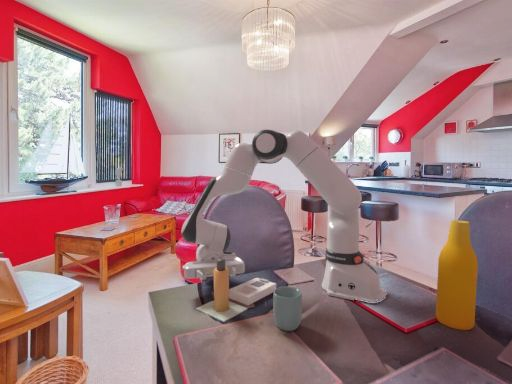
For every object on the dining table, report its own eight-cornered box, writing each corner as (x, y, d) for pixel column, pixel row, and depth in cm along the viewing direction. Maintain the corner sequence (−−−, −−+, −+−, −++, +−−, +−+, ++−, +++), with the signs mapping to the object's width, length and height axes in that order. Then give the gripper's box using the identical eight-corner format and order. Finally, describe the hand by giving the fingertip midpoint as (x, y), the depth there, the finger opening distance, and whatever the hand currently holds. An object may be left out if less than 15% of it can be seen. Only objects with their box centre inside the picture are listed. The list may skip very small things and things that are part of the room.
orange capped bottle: (232, 307, 90) (231, 259, 88) (221, 313, 86) (220, 263, 85) (221, 303, 92) (221, 256, 91) (211, 308, 89) (210, 260, 88)
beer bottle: (482, 332, 79) (488, 224, 77) (444, 329, 80) (449, 223, 78) (463, 315, 88) (469, 219, 86) (429, 313, 89) (434, 218, 87)
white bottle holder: (256, 286, 109) (256, 275, 109) (276, 293, 103) (276, 281, 103) (227, 300, 98) (227, 288, 97) (248, 308, 92) (248, 295, 92)
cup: (303, 322, 83) (304, 288, 83) (298, 337, 76) (299, 299, 75) (277, 318, 86) (277, 284, 85) (269, 332, 79) (269, 295, 78)
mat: (247, 312, 89) (247, 308, 89) (223, 325, 82) (223, 321, 82) (220, 301, 97) (220, 297, 97) (195, 312, 89) (195, 308, 89)
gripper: (181, 256, 103) (184, 269, 90) (238, 252, 109) (249, 263, 96) (181, 274, 103) (184, 289, 90) (238, 269, 109) (249, 282, 96)
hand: (218, 276), depth 93 cm, fingers open, 8 cm apart
